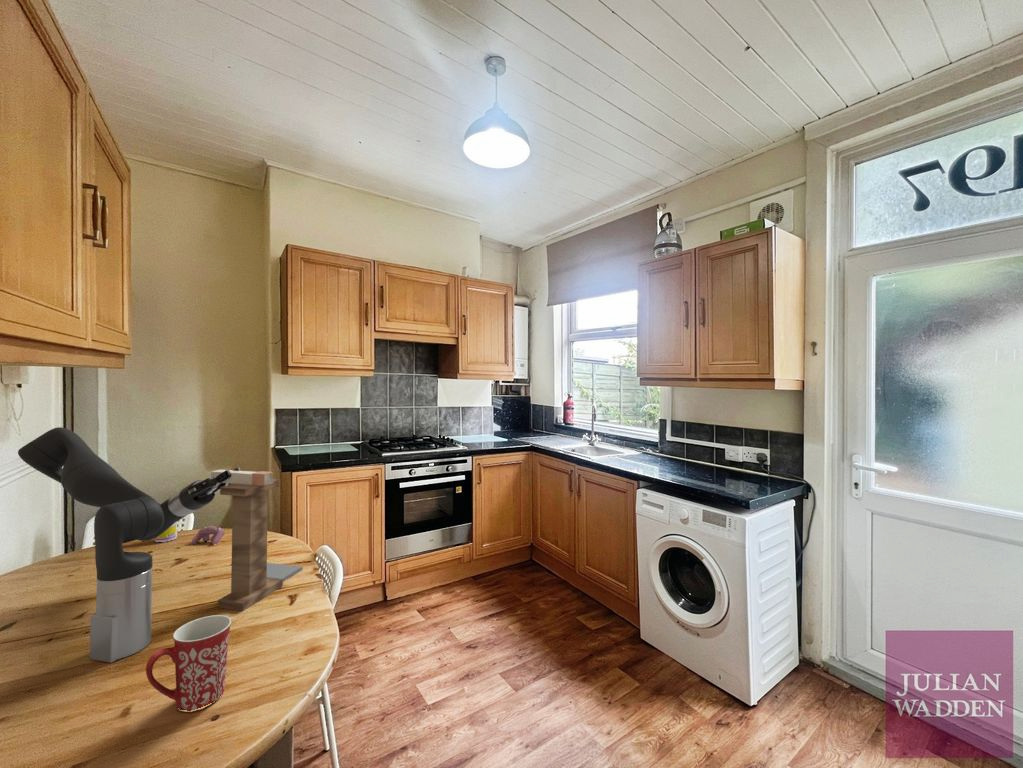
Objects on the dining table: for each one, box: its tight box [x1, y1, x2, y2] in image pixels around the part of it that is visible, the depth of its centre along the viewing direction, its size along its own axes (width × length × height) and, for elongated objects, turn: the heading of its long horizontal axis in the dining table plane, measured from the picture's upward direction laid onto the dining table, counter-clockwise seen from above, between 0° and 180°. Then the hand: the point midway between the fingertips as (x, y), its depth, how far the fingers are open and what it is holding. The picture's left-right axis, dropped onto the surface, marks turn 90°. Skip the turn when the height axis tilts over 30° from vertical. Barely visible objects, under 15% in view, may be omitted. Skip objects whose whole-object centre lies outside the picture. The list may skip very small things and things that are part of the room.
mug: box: [145, 614, 232, 711], centre depth 77 cm, size 13×9×14 cm
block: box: [210, 469, 274, 486], centre depth 118 cm, size 3×18×3 cm, turn 78°
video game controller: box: [191, 525, 226, 546], centre depth 157 cm, size 10×5×7 cm, turn 84°
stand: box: [217, 478, 284, 612], centre depth 117 cm, size 14×9×32 cm, turn 168°
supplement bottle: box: [154, 521, 178, 543], centre depth 159 cm, size 7×7×13 cm
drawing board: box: [267, 562, 304, 582], centre depth 131 cm, size 9×16×1 cm, turn 78°
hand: (234, 471), depth 118 cm, fingers closed on block, 3 cm apart
